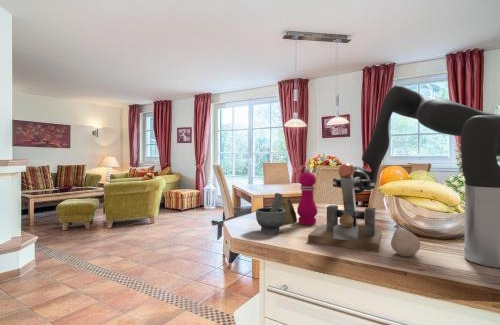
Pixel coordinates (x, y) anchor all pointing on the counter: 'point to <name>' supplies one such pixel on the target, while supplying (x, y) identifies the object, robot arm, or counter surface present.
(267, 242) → the counter surface
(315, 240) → the cracker base
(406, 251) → the garlic bulb
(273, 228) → the mortar and pestle
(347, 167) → the lever
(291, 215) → the rock
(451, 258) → the counter surface
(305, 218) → the pepper mill
